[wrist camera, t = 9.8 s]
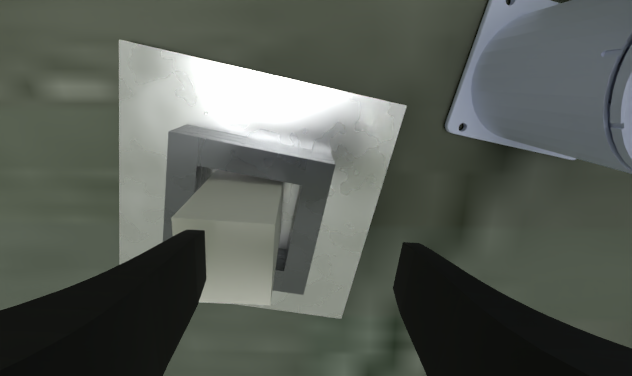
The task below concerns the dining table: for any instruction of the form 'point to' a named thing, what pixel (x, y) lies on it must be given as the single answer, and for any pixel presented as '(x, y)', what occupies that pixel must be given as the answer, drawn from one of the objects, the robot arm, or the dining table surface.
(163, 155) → the socket
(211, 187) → the plug
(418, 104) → the dining table surface
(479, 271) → the dining table surface
